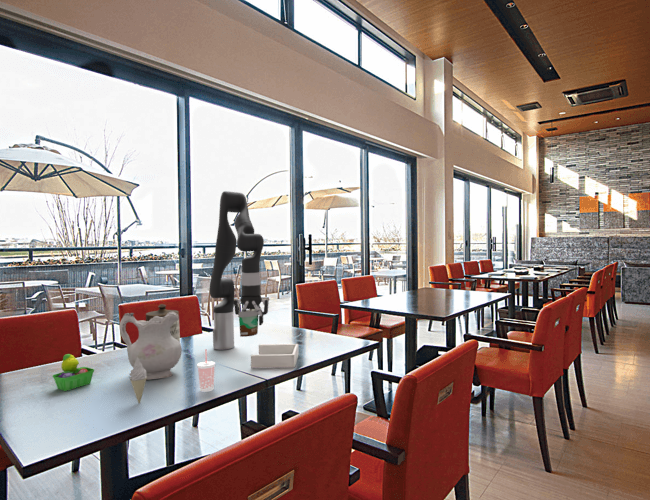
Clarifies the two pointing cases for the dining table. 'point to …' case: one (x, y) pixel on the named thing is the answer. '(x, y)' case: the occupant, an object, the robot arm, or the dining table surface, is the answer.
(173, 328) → the lidded jar
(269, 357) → the box
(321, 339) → the dining table surface
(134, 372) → the ice cream cone
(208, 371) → the beverage cup
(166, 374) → the ceramic pitcher
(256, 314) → the food container
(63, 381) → the fruit basket
